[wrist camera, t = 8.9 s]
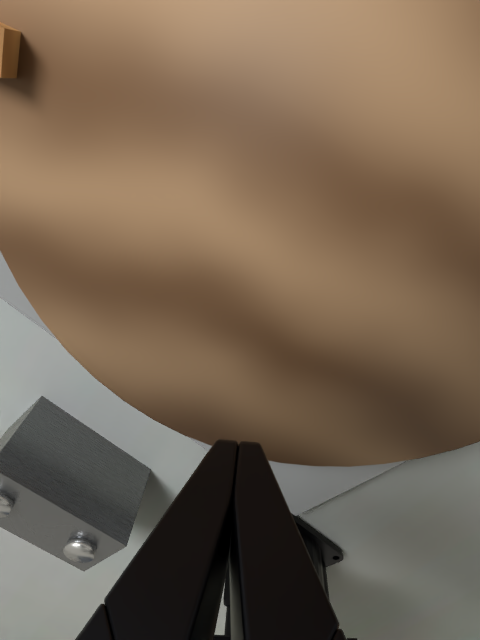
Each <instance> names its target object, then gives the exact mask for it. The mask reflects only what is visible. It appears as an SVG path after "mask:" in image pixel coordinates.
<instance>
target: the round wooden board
mask: <svg viewBox="0 0 480 640" xmlns="http://www.w3.org/2000/svg"><path fill="white" fill-rule="evenodd" d="M0 251H1V253H2V255H3V257H4V259H5V261H6V263H7V265H8V267H9V269H10V271H11V272H12V274H13V276H14V278H15V280H16V282H17V284H18V286H19V287H20V289H21V290H22V292H23V293H24V295H25V296H26V298H27V299H28V301H29V302H30V304H31V305H32V307H33V308H34V310H35V311H36V313H37V314H38V316H39V317H40V319H41V320H42V321H43V323H44V324H45V325H46V326H47V327H48V329H49V330H50V331H51V332H52V333H53V335H54V336H55V337H56V338H57V339H58V341H59V342H60V343H61V344H62V345H63V347H64V348H65V349H66V350H67V351H68V352H69V353H70V354H71V355H72V356H73V357H74V358H75V359H76V360H77V361H78V362H79V363H80V364H81V365H82V366H83V367H84V368H85V369H86V370H87V371H88V372H89V373H90V374H91V375H92V376H93V377H94V378H96V379H97V380H98V381H99V382H101V383H102V384H103V385H104V386H106V387H107V388H108V389H110V390H111V391H112V392H113V393H115V394H116V395H117V396H118V397H120V398H121V399H122V400H123V401H125V402H127V403H128V404H130V405H131V406H133V407H134V408H136V409H138V410H139V411H141V412H142V413H144V414H145V415H147V416H149V417H150V418H152V419H153V420H155V421H157V422H159V423H161V424H163V425H165V426H167V427H169V428H171V429H173V430H175V431H177V432H179V433H181V434H183V435H185V436H188V437H190V438H193V439H195V440H198V441H200V442H203V443H205V444H208V445H211V446H213V444H214V443H215V442H216V441H217V440H218V439H228V440H236V441H237V442H238V445H239V442H240V441H251V442H259V443H260V444H261V446H262V448H263V450H264V452H265V455H266V457H267V459H268V461H273V462H278V463H286V464H296V465H307V466H335V467H351V466H364V465H377V464H387V463H393V462H400V461H406V460H412V459H418V458H423V457H427V456H431V455H435V454H439V453H443V452H447V451H451V450H455V449H459V448H462V447H464V446H467V445H470V444H473V443H476V442H479V441H480V0H0Z"/></svg>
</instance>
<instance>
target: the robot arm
mask: <svg viewBox="0 0 480 640" xmlns="http://www.w3.org/2000/svg"><path fill="white" fill-rule="evenodd" d="M342 560H343V553H342V550H341V549H340V548H338V547H337V546H335V545H334V544H333V543H331V542H330V541H329V540H327V539H326V538H325V537H323V536H322V535H321V534H319V533H318V532H317V531H315V530H314V529H312V528H311V527H310V526H308V525H307V524H306V523H304V522H303V521H302V520H300V519H299V518H298V517H296V516H295V515H294V514H292V513H291V512H290V510H289V507H288V505H287V503H286V500H285V498H284V496H283V494H282V491H281V489H280V487H279V484H278V482H277V480H276V478H275V475H274V473H273V471H272V468H271V466H270V464H269V461H268V459H267V457H266V455H265V452H264V450H263V448H262V446H261V444H260V443H259V442H251V441H240V442H239V445H238V442H237V441H236V440H228V439H218V440H217V441H216V442H215V443H214V444H213V446H212V447H211V449H210V450H209V451H208V453H207V454H206V456H205V457H204V458H203V460H202V461H201V463H200V464H199V466H198V467H197V468H196V470H195V471H194V473H193V474H192V475H191V477H190V478H189V480H188V481H187V483H186V484H185V485H184V487H183V488H182V490H181V491H180V492H179V494H178V495H177V497H176V498H175V500H174V501H173V502H172V504H171V505H170V507H169V508H168V509H167V511H166V512H165V514H164V515H163V517H162V518H161V519H160V521H159V522H158V524H157V525H156V527H155V528H154V529H153V531H152V532H151V534H150V535H149V536H148V538H147V539H146V541H145V542H144V544H143V545H142V546H141V548H140V549H139V551H138V552H137V553H136V555H135V556H134V558H133V559H132V561H131V562H130V563H129V565H128V566H127V568H126V569H125V570H124V572H123V573H122V575H121V576H120V578H119V579H118V580H117V582H116V583H115V585H114V586H113V587H112V589H111V590H110V592H109V593H108V595H107V596H106V597H105V599H104V602H105V604H101V605H100V606H99V607H98V608H97V610H96V611H95V613H94V614H93V615H92V617H91V618H90V620H89V621H88V623H87V624H86V625H85V627H84V628H83V630H82V631H81V632H80V634H79V635H78V636H77V638H76V639H75V640H357V638H347V639H346V637H345V635H344V633H343V631H342V630H341V629H338V628H339V622H338V619H337V617H336V615H335V613H334V610H333V608H332V606H331V603H330V601H329V592H328V583H327V574H326V567H328V566H330V565H332V564H335V563H337V562H340V561H342ZM224 583H225V589H224V605H225V606H227V612H226V623H225V635H214V633H215V628H216V623H217V618H218V613H219V608H220V603H221V598H222V593H223V588H224Z"/></svg>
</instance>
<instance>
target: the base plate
mask: <svg viewBox="0 0 480 640" xmlns="http://www.w3.org/2000/svg"><path fill="white" fill-rule="evenodd" d="M0 298H2V299H3V300H4V301H6V302H7V303H8V304H10V305H11V306H12V307H14V308H15V309H16V310H18V311H19V312H21V313H22V314H23V315H25V316H26V317H27V318H29V319H30V320H31V321H33V322H34V323H35V324H37V325H38V326H39V327H41V328H42V329H44V330H45V331H46V332H48V333H49V334H50V335H52V336H53V337H54V338H56V337H55V336H54V335H53V333H52V332H51V331H50V330H49V329H48V327H47V326H46V325H45V324H44V323H43V321H42V320H41V319H40V317H39V316H38V314H37V313H36V311H35V310H34V308H33V307H32V305H31V304H30V302H29V301H28V299H27V298H26V296H25V295H24V293H23V292H22V290H21V289H20V287H19V286H18V284H17V282H16V280H15V278H14V276H13V274H12V272H11V271H10V269H9V267H8V265H7V263H6V261H5V259H4V257H3V255H2V253H1V251H0ZM56 339H57V338H56ZM57 340H58V339H57ZM189 438H190V437H189ZM191 439H192V440H194V441H195V442H196V443H198V444H199V445H200V446H202V447H203V448H204V449H206V450H207V451H209V450H210V449H211V447H212V446H211V445H208V444H205V443H203V442H200V441H198V440H195V439H193V438H191ZM406 461H408V460H406ZM406 461H400V462H393V463H387V464H377V465H364V466H351V467H335V466H307V465H296V464H286V463H278V462H273V461H269V464H270V466H271V468H272V471H273V473H274V475H275V478H276V480H277V482H278V484H279V487H280V489H281V491H282V494H283V496H284V498H285V500H286V503H287V505H288V507H289V510H290V512H291V513H292V514H294V515H295V516H297V515H299V514H301V513H303V512H305V511H307V510H309V509H311V508H313V507H315V506H317V505H319V504H321V503H323V502H325V501H328V500H330V499H332V498H334V497H336V496H338V495H340V494H342V493H344V492H346V491H348V490H350V489H352V488H354V487H356V486H358V485H360V484H362V483H364V482H366V481H368V480H370V479H372V478H374V477H376V476H378V475H380V474H382V473H384V472H386V471H388V470H390V469H392V468H394V467H396V466H398V465H400V464H402V463H404V462H406Z"/></svg>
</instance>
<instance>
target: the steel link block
mask: <svg viewBox="0 0 480 640" xmlns="http://www.w3.org/2000/svg"><path fill="white" fill-rule="evenodd" d="M150 470H151V469H149V468H148V467H146V466H145V465H143V464H142V463H141V462H139V461H138V460H136V459H135V458H133V457H132V456H130V455H129V454H127V453H126V452H124V451H123V450H121V449H120V448H118V447H117V446H115V445H114V444H112V443H111V442H109V441H108V440H107V439H105V438H104V437H102V436H101V435H99V434H98V433H96V432H95V431H93V430H92V429H90V428H89V427H87V426H86V425H84V424H83V423H81V422H80V421H78V420H77V419H75V418H74V417H73V416H71V415H70V414H68V413H67V412H65V411H64V410H62V409H61V408H59V407H58V406H56V405H55V404H53V403H52V402H50V401H49V400H47V399H46V398H44V397H43V396H41V397H40V398H39V399H38V400H37V401H36V402H35V403H34V404H33V405H32V406H31V407H30V408H29V409H28V410H27V411H26V412H25V413H24V414H23V415H22V416H21V417H20V418H19V419H18V420H17V421H16V422H15V423H14V424H13V425H12V426H10V427H9V428H8V430H7V431H6V432H5V433H4V435H3V436H2V437H1V439H0V527H2V528H3V529H5V530H7V531H9V532H11V533H13V534H15V535H17V536H18V537H20V538H22V539H24V540H26V541H28V542H30V543H32V544H33V545H35V546H37V547H39V548H41V549H43V550H45V551H47V552H48V553H50V554H52V555H54V556H56V557H58V558H60V559H62V560H63V561H65V562H67V563H69V564H71V565H73V566H75V567H77V568H78V569H80V570H82V571H85V570H87V569H89V568H91V567H92V566H94V565H96V564H97V563H99V562H101V561H102V560H104V559H106V558H108V557H109V556H111V555H113V554H114V553H116V552H118V551H119V550H121V549H123V548H124V547H126V546H127V543H128V540H129V537H130V533H131V530H132V527H133V524H134V521H135V518H136V514H137V511H138V508H139V505H140V502H141V499H142V495H143V492H144V489H145V486H146V483H147V480H148V476H149V473H150Z"/></svg>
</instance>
